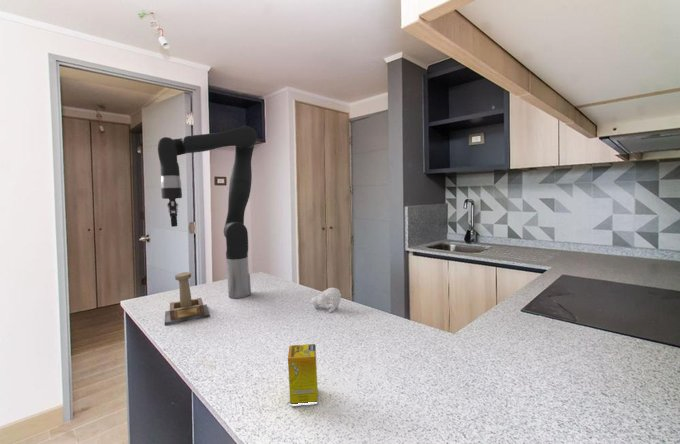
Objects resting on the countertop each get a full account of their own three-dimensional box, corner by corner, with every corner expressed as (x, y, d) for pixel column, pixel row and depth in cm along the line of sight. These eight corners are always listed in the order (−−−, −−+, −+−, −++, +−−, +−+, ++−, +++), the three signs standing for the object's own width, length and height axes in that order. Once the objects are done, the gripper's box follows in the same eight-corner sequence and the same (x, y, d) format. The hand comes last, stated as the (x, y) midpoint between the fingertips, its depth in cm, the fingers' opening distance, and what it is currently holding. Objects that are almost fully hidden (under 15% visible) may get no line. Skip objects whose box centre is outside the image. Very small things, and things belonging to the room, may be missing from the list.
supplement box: (291, 391, 75) (289, 345, 74) (317, 388, 76) (315, 343, 75) (289, 407, 69) (287, 358, 68) (318, 405, 70) (316, 356, 69)
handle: (197, 309, 128) (193, 271, 127) (188, 315, 122) (184, 276, 120) (185, 309, 129) (181, 272, 127) (176, 316, 122) (172, 276, 121)
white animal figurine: (334, 290, 121) (306, 290, 126) (337, 313, 122) (309, 312, 127) (341, 285, 127) (314, 286, 132) (344, 307, 128) (316, 307, 132)
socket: (206, 306, 134) (206, 296, 134) (210, 316, 123) (209, 305, 122) (165, 313, 128) (164, 302, 127) (164, 325, 116) (163, 313, 116)
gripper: (181, 186, 132) (184, 226, 134) (180, 187, 145) (183, 223, 146) (160, 186, 129) (163, 227, 130) (161, 187, 141) (164, 225, 143)
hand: (174, 225), depth 138 cm, fingers open, 8 cm apart
